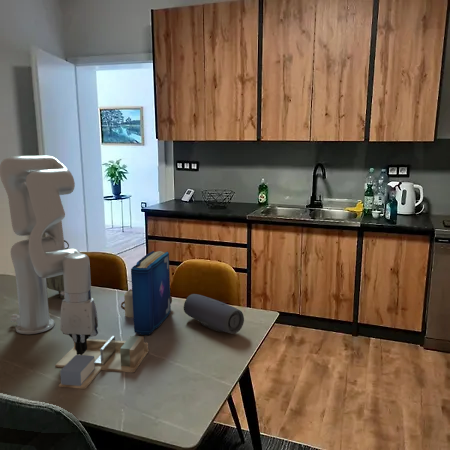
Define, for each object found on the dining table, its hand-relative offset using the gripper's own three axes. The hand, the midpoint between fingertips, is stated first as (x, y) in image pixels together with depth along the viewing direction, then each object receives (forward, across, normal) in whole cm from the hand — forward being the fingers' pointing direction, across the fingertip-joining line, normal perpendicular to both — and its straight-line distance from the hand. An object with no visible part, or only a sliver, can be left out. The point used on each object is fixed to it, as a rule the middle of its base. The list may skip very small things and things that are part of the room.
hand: (81, 352), depth 133 cm
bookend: (+1, +9, 0) cm, 9 cm away
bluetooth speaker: (+2, +36, +28) cm, 46 cm away
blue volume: (+2, +14, +27) cm, 31 cm away
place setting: (+3, +5, +42) cm, 42 cm away
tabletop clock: (+2, -31, +50) cm, 58 cm away
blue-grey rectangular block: (+1, +4, -11) cm, 12 cm away
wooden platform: (+2, +7, 0) cm, 7 cm away
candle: (+2, +4, +34) cm, 35 cm away
